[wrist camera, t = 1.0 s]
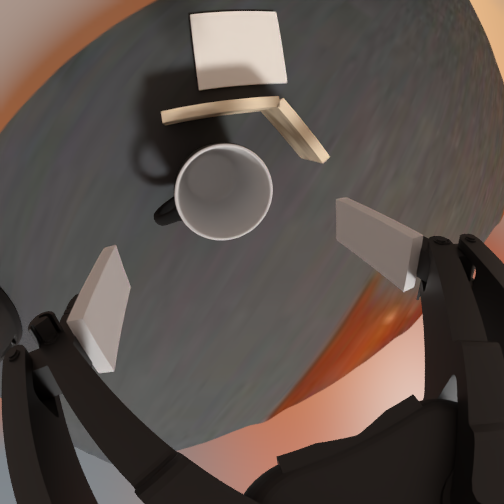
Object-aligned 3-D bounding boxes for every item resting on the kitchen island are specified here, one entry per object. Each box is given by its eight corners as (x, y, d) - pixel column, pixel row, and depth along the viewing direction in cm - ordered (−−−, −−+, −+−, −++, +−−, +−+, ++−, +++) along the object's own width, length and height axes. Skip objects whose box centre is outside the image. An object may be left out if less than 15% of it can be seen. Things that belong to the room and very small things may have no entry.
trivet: (198, 90, 27) (199, 90, 27) (189, 16, 23) (190, 14, 22) (285, 83, 29) (287, 82, 29) (274, 13, 25) (276, 11, 24)
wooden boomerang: (174, 179, 31) (174, 188, 26) (163, 116, 28) (160, 111, 22) (307, 157, 34) (330, 162, 29) (301, 100, 31) (324, 95, 26)
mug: (227, 129, 30) (249, 125, 21) (257, 191, 35) (287, 212, 26) (140, 176, 30) (125, 193, 21) (175, 235, 34) (177, 273, 25)
